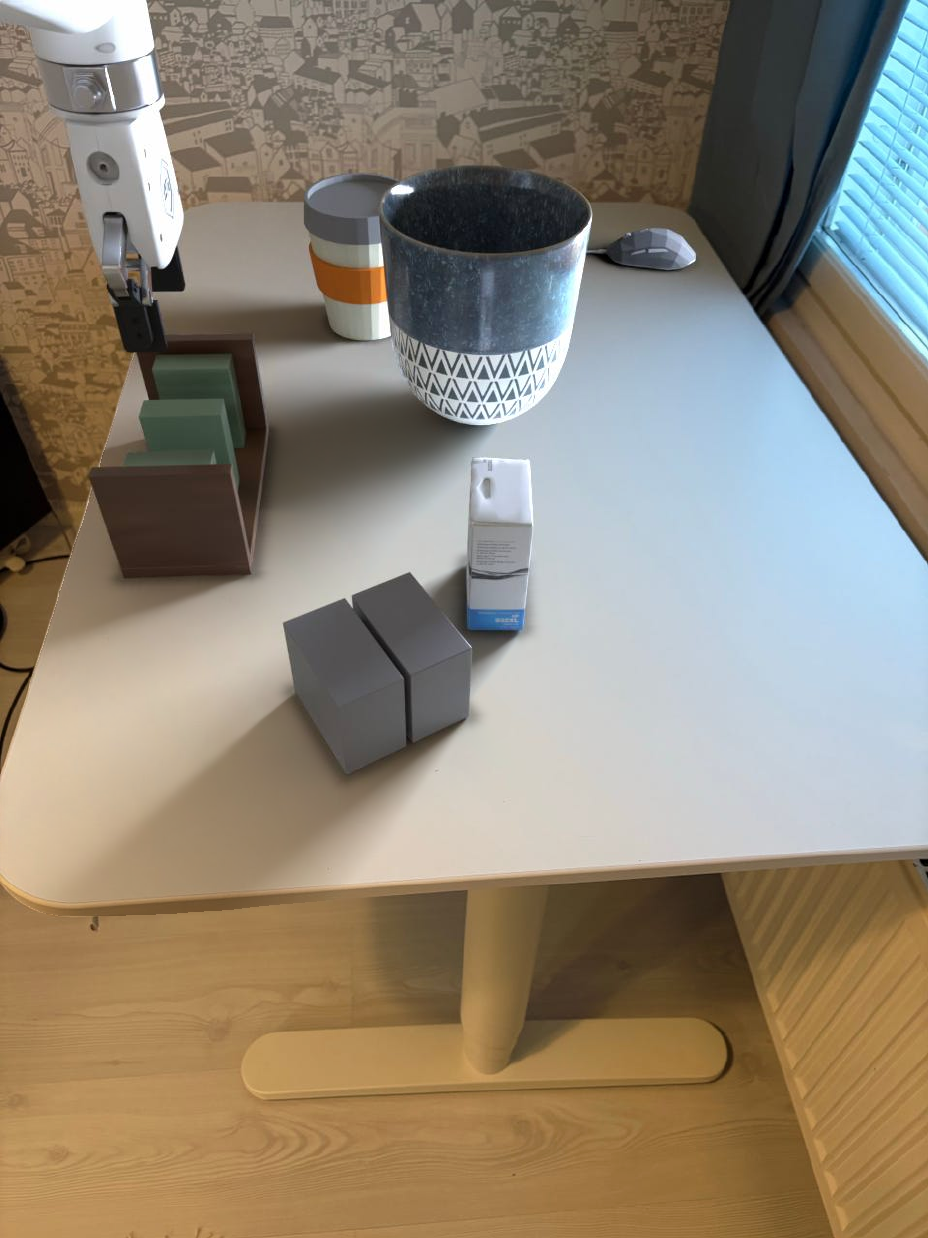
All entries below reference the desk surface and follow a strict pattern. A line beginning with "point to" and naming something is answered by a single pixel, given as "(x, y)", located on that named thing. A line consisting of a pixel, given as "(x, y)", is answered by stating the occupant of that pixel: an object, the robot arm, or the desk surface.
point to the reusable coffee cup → (349, 252)
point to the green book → (189, 427)
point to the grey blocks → (379, 670)
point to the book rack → (191, 469)
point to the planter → (482, 285)
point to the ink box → (498, 543)
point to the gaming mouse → (650, 249)
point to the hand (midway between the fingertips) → (157, 318)
